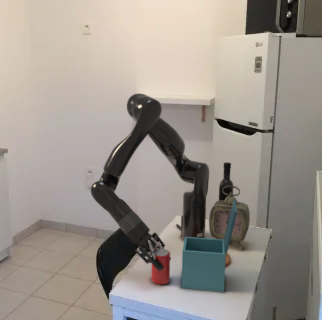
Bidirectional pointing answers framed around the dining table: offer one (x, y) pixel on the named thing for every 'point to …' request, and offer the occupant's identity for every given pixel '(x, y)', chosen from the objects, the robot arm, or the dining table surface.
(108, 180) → the robot arm
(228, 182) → the wine bottle
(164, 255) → the can
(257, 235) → the dining table surface
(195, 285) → the teal open box
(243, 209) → the tabletop clock
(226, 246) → the teal box lid
